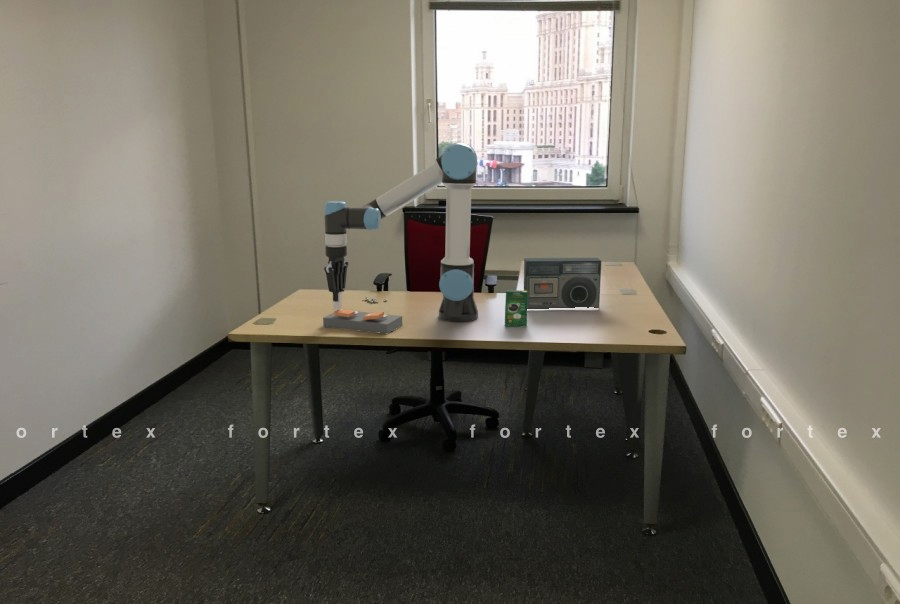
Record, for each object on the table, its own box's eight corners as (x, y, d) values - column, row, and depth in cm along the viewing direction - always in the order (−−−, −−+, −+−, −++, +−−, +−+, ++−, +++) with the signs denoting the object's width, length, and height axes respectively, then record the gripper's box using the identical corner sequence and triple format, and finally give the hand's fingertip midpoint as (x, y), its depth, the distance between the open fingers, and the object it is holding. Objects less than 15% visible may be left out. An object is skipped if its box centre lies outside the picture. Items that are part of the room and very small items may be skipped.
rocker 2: (384, 315, 239) (383, 311, 239) (378, 318, 235) (378, 314, 235) (369, 316, 242) (369, 313, 242) (364, 319, 238) (363, 316, 238)
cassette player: (525, 311, 264) (526, 261, 259) (523, 306, 271) (524, 258, 266) (599, 310, 264) (601, 260, 259) (595, 306, 271) (597, 257, 266)
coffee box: (526, 324, 245) (527, 289, 242) (527, 326, 242) (528, 291, 239) (504, 324, 245) (505, 289, 242) (505, 326, 242) (505, 291, 239)
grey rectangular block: (402, 325, 245) (402, 315, 244) (387, 334, 234) (387, 323, 233) (340, 318, 254) (340, 308, 253) (323, 326, 243) (322, 316, 243)
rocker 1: (354, 314, 244) (354, 311, 244) (348, 317, 240) (348, 313, 240) (340, 311, 246) (340, 308, 246) (334, 314, 242) (334, 311, 242)
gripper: (336, 241, 245) (338, 304, 251) (316, 247, 233) (318, 312, 239) (354, 243, 242) (355, 306, 248) (335, 248, 231) (337, 314, 236)
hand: (337, 309), depth 244 cm, fingers closed
